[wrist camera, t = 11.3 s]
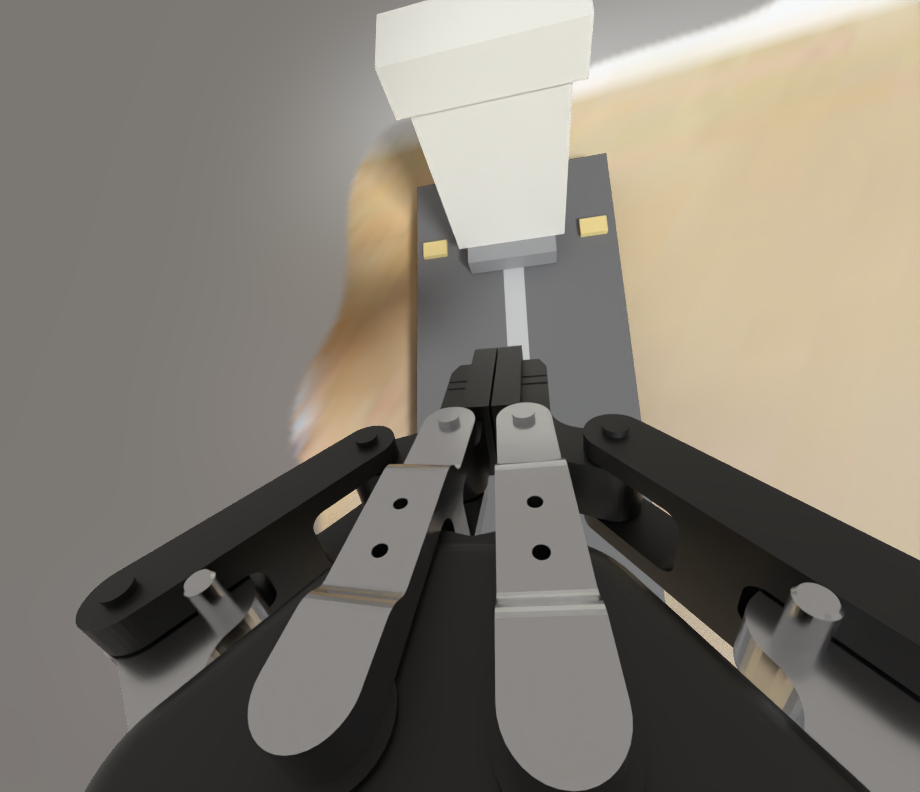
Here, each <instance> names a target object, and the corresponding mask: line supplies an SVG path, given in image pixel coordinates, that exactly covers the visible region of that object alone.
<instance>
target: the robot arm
mask: <svg viewBox="0 0 920 792" xmlns="http://www.w3.org/2000/svg"><path fill="white" fill-rule="evenodd" d="M492 475H495V520H496V531H494V532H489V533H485V534H481V530H482V525H483V520H484V516H485V511H486V506H487V501H488V491H487V485H488V479H489V476H492ZM355 489H357V492H358V494H359V497H360V499H361V502H362V504H360V505H359V506H358V507H356V508H355V509H353V510H352V511H351V512H349V513H348V514H346V515H345V516H343V517H342V518H341V519H339V520H338V521H336V522H335V523H334V524H332V525H331V526H329V527H328V528H327V529H325V530H324V531H322V532H321V533H319V534H317V535H315V533H314V530H313V525H314V522H315V520H316V518H317V517H318V515H319V514H320V513H322V512H323V511H324V510H326V509H327V508H329V507H330V506H332V505H333V504H335V503H336V502H337V501H339V500H340V499H342V498H343V497H345V496H346V495H348V494H349V493H351V492H352V491H354V490H355ZM643 496H645V497H647V498H648V499H650V500H651V501H653V502H654V503H656V504H657V505H659V506H660V507H662V508H663V509H664V510H666V511H667V512H668V513H669V514H670V515H671V516H672V517H671V516H670V515H668V514H667V513H665V512H664V511H662V510H661V509H659V508H658V507H656V506H655V505H653V504H652V503H650V502H649V501H647V500H646V499H645V498H643ZM580 514H583V515H584V518H585V521H586V523H587V524H588V526H589V527H590V528H591V529H592V530H594V531H595V532H596V533H597V534H598V535H600V536H601V537H602V538H603V539H604V540H605V541H607V542H608V543H609V544H610V545H611V546H613V547H614V548H615V549H616V550H617V551H619V552H620V553H621V554H622V555H623V556H625V557H626V558H627V559H628V560H629V561H631V562H632V563H633V564H634V565H635V566H637V567H638V568H639V569H640V570H641V571H642V572H644V573H645V574H646V575H647V576H648V577H650V578H651V579H652V580H653V581H654V582H656V583H657V584H658V585H659V586H660V587H662V588H663V589H664V590H665V591H666V592H668V593H669V594H670V595H671V596H672V597H673V598H675V599H676V600H677V601H678V602H679V603H681V604H682V605H683V606H684V607H685V608H687V609H688V610H689V611H690V612H691V613H693V614H694V615H695V616H696V617H697V618H699V619H700V620H701V621H702V622H703V623H705V624H706V625H707V626H708V627H709V628H710V629H712V630H713V631H714V632H715V633H716V634H718V635H719V636H720V637H721V638H722V639H724V640H725V641H726V642H727V643H728V644H730V645H731V646H732V647H733V654H734V660H735V664H736V666H737V668H736V667H734V666H733V665H732V664H731V663H730V662H729V661H728V660H727V659H726V658H725V657H723V656H722V655H721V654H720V653H719V652H718V651H717V650H716V649H715V648H714V647H713V646H711V645H710V644H709V643H708V642H707V641H706V640H705V639H704V638H703V637H702V636H700V635H699V634H698V633H697V632H696V631H695V630H694V629H693V628H692V627H691V626H690V625H688V624H687V623H686V622H685V621H684V620H683V619H682V618H681V617H680V616H679V615H677V614H676V613H675V612H674V611H673V610H672V609H671V608H670V607H669V606H668V605H667V604H665V603H664V602H663V601H662V600H661V599H660V598H659V597H658V596H657V595H656V594H654V593H653V592H652V591H651V590H650V589H649V588H648V587H647V586H646V585H645V584H644V583H642V582H641V581H640V580H639V579H638V578H637V577H636V576H635V575H634V574H633V573H631V572H630V571H629V570H628V569H627V568H626V567H625V566H623V565H622V564H620V563H619V562H618V561H616V560H615V559H614V558H612V557H610V556H608V555H607V554H605V553H603V552H601V551H599V550H597V549H594V548H592V547H590V546H587V543H586V539H585V535H584V530H583V526H582V522H581V518H580ZM76 624H77V627H79V628H80V629H81V630H82V631H83V632H84V633H85V634H86V635H87V636H89V637H90V638H91V639H92V640H93V641H94V642H95V643H96V644H97V645H98V646H100V647H101V648H102V649H103V652H104V655H105V656H106V657H108V658H109V659H110V660H111V661H112V662H113V663H114V664H115V665H116V666H117V667H118V673H119V679H120V685H121V691H122V696H123V703H124V708H125V713H126V720H127V726H128V733H127V734H126V735H125V736H124V737H123V739H122V740H121V741H120V742H119V743H118V744H117V745H116V746H115V748H114V749H113V750H112V751H111V753H110V754H109V755H108V757H107V758H106V759H105V761H104V762H103V763H102V765H101V766H100V768H99V769H98V771H97V772H96V774H95V775H94V777H93V779H92V780H91V782H90V783H89V785H88V786H87V788H86V790H85V792H920V560H918V559H916V558H914V557H912V556H910V555H908V554H906V553H904V552H902V551H900V550H898V549H896V548H894V547H892V546H890V545H888V544H886V543H884V542H882V541H880V540H878V539H876V538H874V537H872V536H870V535H868V534H866V533H864V532H862V531H860V530H858V529H856V528H854V527H852V526H850V525H848V524H846V523H844V522H842V521H840V520H838V519H836V518H834V517H832V516H830V515H828V514H826V513H824V512H822V511H820V510H818V509H816V508H814V507H812V506H810V505H808V504H806V503H804V502H802V501H800V500H798V499H796V498H794V497H792V496H790V495H788V494H786V493H784V492H782V491H780V490H778V489H776V488H774V487H772V486H770V485H768V484H766V483H764V482H762V481H760V480H758V479H756V478H754V477H752V476H750V475H748V474H746V473H744V472H742V471H740V470H738V469H736V468H734V467H732V466H730V465H728V464H726V463H724V462H722V461H720V460H718V459H715V458H713V457H711V456H709V455H707V454H705V453H703V452H701V451H699V450H697V449H695V448H693V447H691V446H689V445H687V444H685V443H683V442H681V441H679V440H677V439H675V438H673V437H671V436H669V435H667V434H665V433H663V432H661V431H659V430H657V429H655V428H653V427H651V426H649V425H647V424H645V423H643V422H641V421H639V420H637V419H635V418H633V417H630V416H627V415H622V414H604V415H600V416H596V417H594V418H592V419H590V420H589V421H588V422H587V423H586V424H585V426H584V428H579V427H574V426H569V425H566V424H564V423H561V422H560V421H558V420H557V419H555V418H554V417H553V415H552V413H551V410H550V400H549V389H548V378H547V367H546V365H545V364H544V363H543V362H542V361H541V360H540V359H529V360H523V353H522V345H518V346H507V347H499V350H498V348H497V347H496V348H485V349H475V351H474V356H473V360H472V364H469V365H460V366H459V367H458V368H457V369H456V370H455V371H454V372H453V373H452V374H451V377H450V380H449V384H448V386H447V391H446V393H445V396H444V399H443V402H442V405H441V408H440V410H438V411H435V412H434V413H432V414H430V415H429V416H428V417H427V418H426V419H425V421H424V423H423V425H422V427H421V429H420V431H419V433H417V434H413V435H410V436H406V437H402V438H398V439H395V437H394V434H393V431H392V430H391V429H389V428H387V427H384V426H370V427H366V428H363V429H360V430H358V431H356V432H354V433H352V434H351V435H349V436H347V437H346V438H344V439H342V440H340V441H339V442H337V443H335V444H334V445H332V446H330V447H329V448H327V449H325V450H323V451H322V452H320V453H318V454H317V455H315V456H313V457H312V458H310V459H308V460H307V461H305V462H303V463H301V464H300V465H298V466H296V467H295V468H293V469H291V470H290V471H288V472H286V473H284V474H283V475H281V476H279V477H278V478H276V479H274V480H273V481H271V482H269V483H268V484H266V485H264V486H262V487H261V488H259V489H257V490H256V491H254V492H252V493H251V494H249V495H247V496H246V497H244V498H242V499H240V500H239V501H237V502H235V503H234V504H232V505H230V506H228V507H227V508H225V509H223V510H222V511H220V512H218V513H217V514H215V515H213V516H212V517H210V518H208V519H206V520H205V521H203V522H201V523H200V524H198V525H196V526H195V527H193V528H191V529H189V530H188V531H186V532H185V533H183V534H181V535H179V536H178V537H176V538H174V539H173V540H171V541H169V542H167V543H166V544H164V545H162V546H161V547H159V548H157V549H156V550H154V551H153V552H150V553H149V554H147V555H145V556H144V557H142V558H141V559H139V560H137V561H135V562H133V563H132V564H130V565H128V566H127V567H125V568H123V569H122V570H120V571H118V572H117V573H115V574H114V575H112V576H110V577H109V578H107V579H106V580H105V581H103V582H102V583H101V584H100V585H99V586H97V587H96V588H95V589H94V590H93V591H92V592H91V593H90V594H89V595H88V597H87V598H86V599H85V600H84V602H83V603H82V605H81V606H80V608H79V610H78V612H77V615H76Z"/></svg>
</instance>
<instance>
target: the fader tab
mask: <svg viewBox="0 0 920 792" xmlns="http://www.w3.org/2000/svg"><path fill="white" fill-rule="evenodd" d="M593 23H594V8H593V1H592V0H427V1H423V2H419V3H416V4H412V5H409V6H405V7H402V8H398V9H394V10H391V11H387V12H384V13H379V14H377V22H376V51H375V69H376V72H377V75H378V77H379V79H380V82H381V84H382V87H383V89H384V91H385V94H386V96H387V99H388V101H389V104H390V106H391V109H392V111H393V113H394V116H395V118H396V120H401V119H405V118H410V117H411V120H412V123H413V126H414V128H415V131H416V134H417V136H418V139H419V142H420V144H421V147H422V150H423V153H424V155H425V158H426V161H427V163H428V166H429V169H430V171H431V174H432V177H433V179H434V182H435V185H436V188H437V190H438V193H439V196H440V198H441V201H442V204H443V206H444V209H445V212H446V215H447V217H448V220H449V223H450V225H451V228H452V231H453V233H454V236H455V239H456V241H457V244H458V247H459V249H464V248H468V264H469V267H470V270H471V273H472V274H475V273H482V272H490V271H497V270H505V269H512V268H520V267H527V266H535V265H542V264H550V263H556V259H557V249H556V237H555V235H560V234H564V233H565V215H566V196H567V178H568V159H569V141H570V122H571V104H572V85H573V82H576V81H580V80H585V79H588V77H589V67H590V55H591V43H592V33H593Z"/></svg>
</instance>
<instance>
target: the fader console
mask: <svg viewBox="0 0 920 792" xmlns="http://www.w3.org/2000/svg"><path fill="white" fill-rule="evenodd" d="M555 237H556V249H557V259H556V263H550V264H542V265H535V266H527V267H520V268H512V269H505V270H497V271H490V272H482V273H475V274H472V273H471V270H470V267H469V264H468V248H464V249H459V247H458V244H457V241H456V239H455V236H454V233H453V231H452V228H451V225H450V223H449V220H448V217H447V215H446V212H445V209H444V206H443V204H442V201H441V198H440V196H439V193H438V190H437V188H436V185H435V184H433V185H427V186H422V187H417V433H419V431H420V429H421V427H422V425H423V423H424V421H425V419H426V418H427V417H428V416H429V415H430V414H432V413H434V412H435V411H438V410H440V408H441V405H442V402H443V399H444V396H445V393H446V391H447V386H448V384H449V380H450V377H451V374H452V373H453V372H454V371H455V370H456V369H457V368H458V367H459V366H460V365H469V364H472V360H473V356H474V351H475V349H485V348H496V347H497V348H498V350H499V347H507V346H518V345H522V353H523V360H529V359H540V360H541V361H542V362H543V363H544V364H545V365H546V367H547V378H548V389H549V400H550V410H551V413H552V415H553V417H554V418H555V419H557V420H558V421H560V422H561V423H564V424H566V425H569V426H574V427H579V428H584V426H585V424H586V423H587V422H588V421H589V420H590V419H592V418H594V417H596V416H600V415H604V414H622V415H627V416H630V417H633V418H635V419H637V420H639V421H641V415H640V408H639V400H638V392H637V385H636V377H635V370H634V362H633V354H632V347H631V339H630V331H629V324H628V316H627V308H626V301H625V293H624V285H623V278H622V270H621V263H620V255H619V247H618V240H617V232H616V224H615V217H614V209H613V201H612V194H611V186H610V178H609V171H608V163H607V156H606V153H604V154H598V155H593V156H587V157H581V158H576V159H570V160H568V178H567V196H566V215H565V233H564V234H560V235H555ZM487 491H488V501H487V506H486V511H485V516H484V520H483V525H482V530H481V534H485V533H489V532H494V531H496V520H495V475H492V476H489V479H488V485H487ZM643 498H645V499H646V500H647V501H649V502H650V503H652V501H651V500H650V499H648V498H647V497H645V496H643ZM580 518H581V522H582V526H583V530H584V535H585V539H586V543H587V546H590V547H592V548H594V549H597V550H599V551H601V552H603V553H605V554H607V555H608V556H610V557H612V558H614V559H615V560H616V561H618V562H619V563H620V564H622V565H623V566H625V567H626V568H627V569H628V570H629V571H630V572H631V573H633V574H634V575H635V576H636V577H637V578H638V579H639V580H640V581H641V582H642V583H644V584H645V585H646V586H647V587H648V588H649V589H650V590H651V591H652V592H653V593H654V594H656V595H657V596H658V597H659V598H660V599H661V600H662V601H663V602H664V603H665V599H664V591H663V588H662V587H660V586H659V585H658V584H657V583H656V582H654V581H653V580H652V579H651V578H650V577H648V576H647V575H646V574H645V573H644V572H642V571H641V570H640V569H639V568H638V567H637V566H635V565H634V564H633V563H632V562H631V561H629V560H628V559H627V558H626V557H625V556H623V555H622V554H621V553H620V552H619V551H617V550H616V549H615V548H614V547H613V546H611V545H610V544H609V543H608V542H607V541H605V540H604V539H603V538H602V537H601V536H600V535H598V534H597V533H596V532H595V531H594V530H592V529H591V528H590V527H589V526H588V524H587V523H586V521H585V518H584V515H583V514H580Z"/></svg>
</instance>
